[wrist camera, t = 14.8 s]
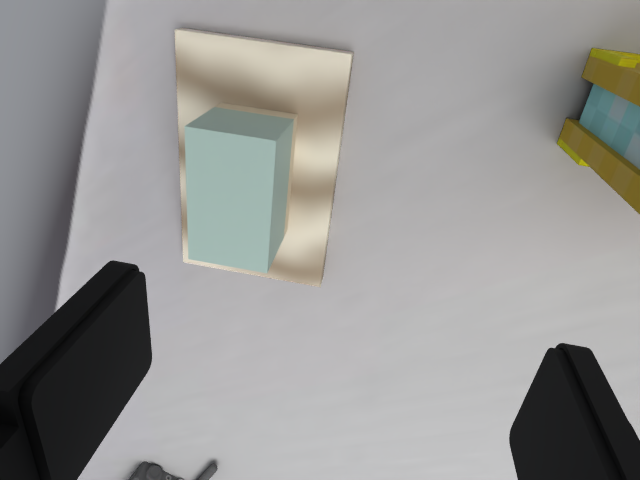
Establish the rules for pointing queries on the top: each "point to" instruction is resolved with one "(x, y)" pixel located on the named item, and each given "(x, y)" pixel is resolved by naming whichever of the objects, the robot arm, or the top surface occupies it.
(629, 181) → the book
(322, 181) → the board
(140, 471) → the walkie-talkie
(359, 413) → the top surface
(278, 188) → the block
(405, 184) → the top surface
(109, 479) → the top surface
